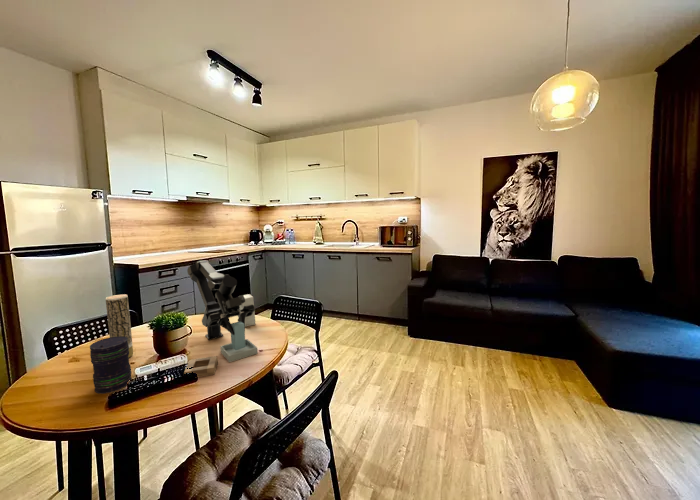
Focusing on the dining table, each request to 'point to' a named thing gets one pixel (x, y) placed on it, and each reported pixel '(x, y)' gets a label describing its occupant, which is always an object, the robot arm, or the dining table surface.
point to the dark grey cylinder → (110, 364)
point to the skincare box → (251, 319)
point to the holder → (202, 366)
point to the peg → (238, 335)
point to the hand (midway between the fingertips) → (239, 332)
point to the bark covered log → (119, 318)
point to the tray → (238, 351)
